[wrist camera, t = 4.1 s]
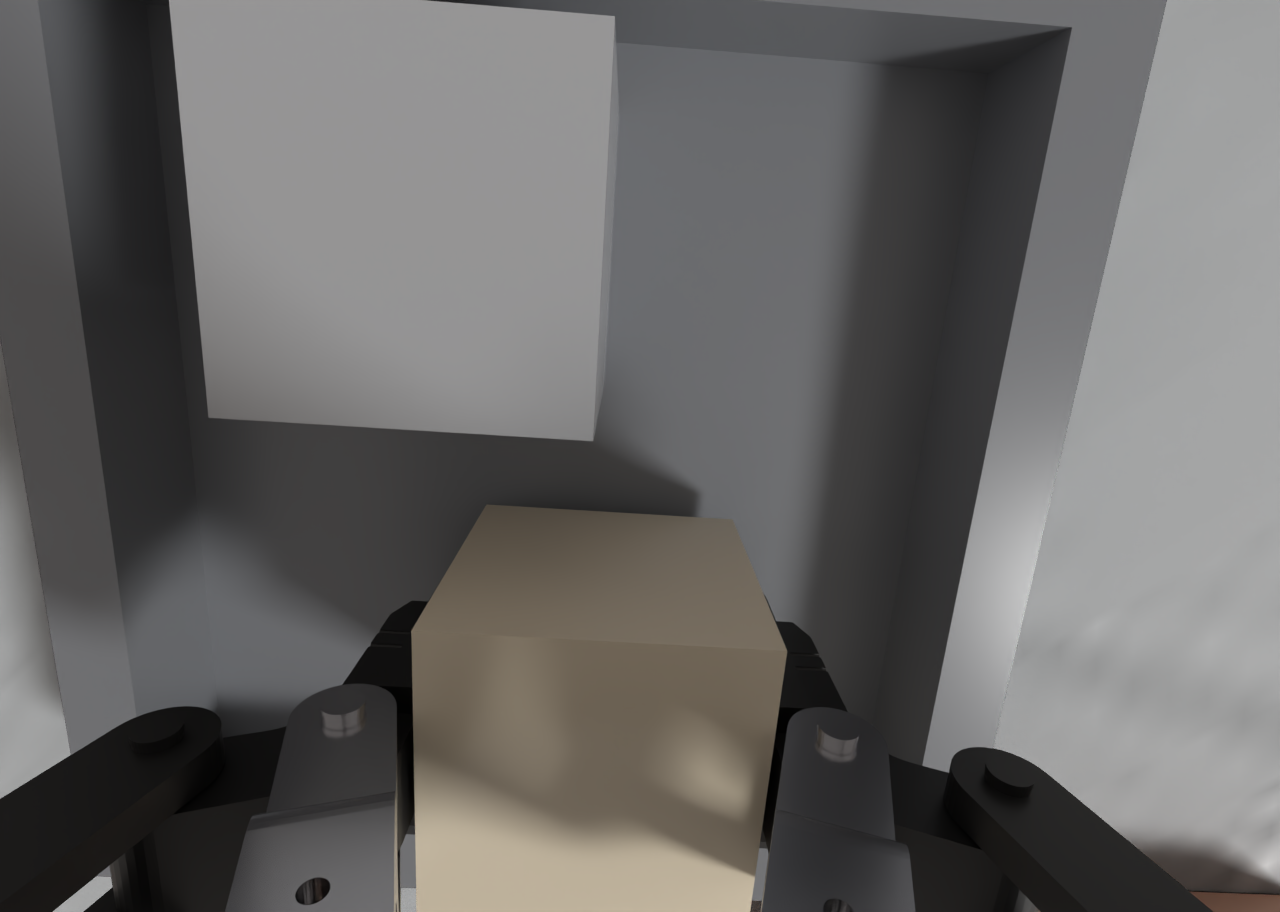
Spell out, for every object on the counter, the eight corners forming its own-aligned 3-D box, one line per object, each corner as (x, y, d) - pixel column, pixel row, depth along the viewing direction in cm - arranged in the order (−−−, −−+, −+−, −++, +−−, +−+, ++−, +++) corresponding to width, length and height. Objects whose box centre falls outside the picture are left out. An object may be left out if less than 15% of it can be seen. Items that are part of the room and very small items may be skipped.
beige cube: (486, 505, 12) (412, 630, 8) (732, 519, 13) (787, 651, 8) (483, 718, 14) (417, 927, 9) (708, 729, 14) (745, 940, 9)
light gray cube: (344, 92, 11) (167, -22, 7) (618, 114, 11) (614, 17, 7) (354, 367, 12) (208, 417, 8) (604, 383, 13) (593, 441, 8)
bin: (95, -67, 11) (-88, -184, 8) (1046, 14, 12) (1183, -70, 9) (192, 762, 15) (91, 875, 12) (896, 792, 16) (956, 908, 13)
